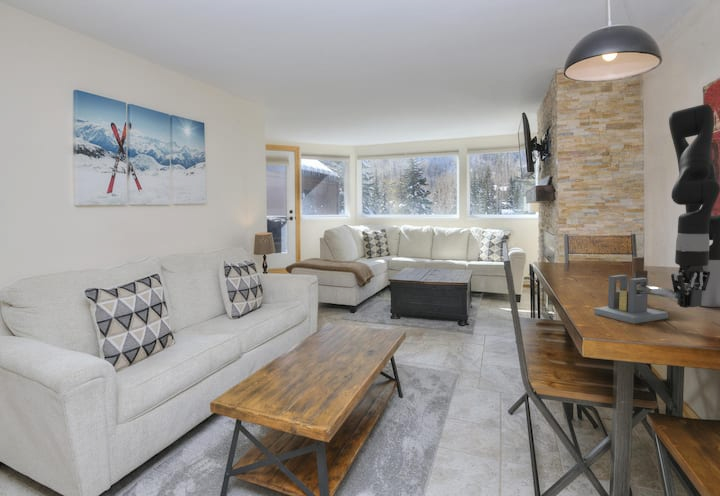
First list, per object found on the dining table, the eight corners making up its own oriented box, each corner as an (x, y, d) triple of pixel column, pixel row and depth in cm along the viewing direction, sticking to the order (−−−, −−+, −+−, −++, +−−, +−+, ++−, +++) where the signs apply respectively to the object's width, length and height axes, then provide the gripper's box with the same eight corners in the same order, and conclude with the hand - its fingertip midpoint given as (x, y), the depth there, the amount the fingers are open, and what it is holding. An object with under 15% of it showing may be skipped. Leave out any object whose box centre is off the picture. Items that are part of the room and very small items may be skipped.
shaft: (642, 295, 132) (643, 280, 131) (701, 305, 116) (702, 289, 116) (634, 296, 131) (634, 281, 130) (692, 307, 115) (693, 290, 114)
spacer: (633, 308, 137) (634, 288, 136) (640, 309, 134) (641, 289, 134) (619, 310, 134) (619, 290, 134) (626, 312, 132) (626, 291, 131)
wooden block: (634, 308, 144) (635, 259, 142) (629, 302, 153) (631, 256, 152) (646, 309, 142) (648, 260, 141) (641, 303, 152) (643, 256, 150)
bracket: (626, 308, 144) (627, 273, 143) (667, 318, 131) (669, 278, 129) (594, 313, 138) (594, 276, 137) (633, 323, 125) (634, 282, 124)
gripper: (693, 246, 121) (690, 301, 123) (662, 249, 117) (659, 306, 118) (722, 248, 114) (719, 306, 116) (690, 251, 110) (687, 311, 111)
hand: (689, 306), depth 117 cm, fingers closed on shaft, 4 cm apart
